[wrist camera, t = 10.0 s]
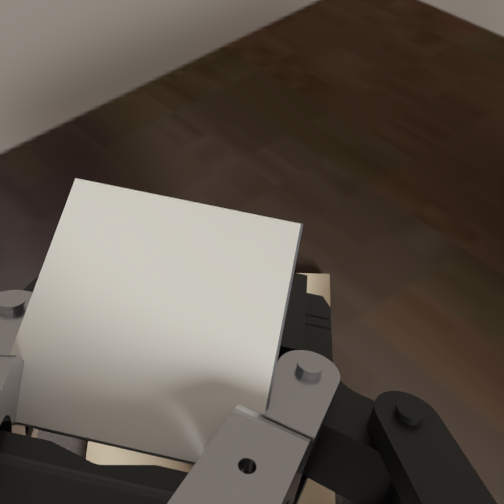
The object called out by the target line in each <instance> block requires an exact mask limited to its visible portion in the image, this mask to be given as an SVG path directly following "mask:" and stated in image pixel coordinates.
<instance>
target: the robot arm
mask: <svg viewBox="0 0 504 504" xmlns="http://www.w3.org/2000/svg"><path fill="white" fill-rule="evenodd" d="M38 277H39V276H38ZM38 277H37V278H36V279H35V280H34V281H32V282H31V283H30V284H29V285H28V286H27V287H26V288H25V289H23V290H8V291H2V292H0V504H298V502H299V500H300V497H301V495H302V492H303V490H304V488H305V485H306V483H307V480H308V478H309V479H311V480H313V481H315V482H316V483H318V484H320V485H322V486H324V487H326V488H327V489H329V490H331V491H333V492H335V493H337V494H339V495H340V496H341V497H342V504H497V503H496V501H495V500H494V498H493V497H492V495H491V494H490V492H489V491H488V489H487V488H486V486H485V485H484V483H483V482H482V480H481V479H480V477H479V476H478V474H477V473H476V471H475V470H474V468H473V467H472V465H471V464H470V462H469V460H468V459H467V457H466V456H465V454H464V453H463V451H462V450H461V448H460V447H459V445H458V444H457V442H456V441H455V439H454V438H453V436H452V435H451V433H450V432H449V430H448V429H447V427H446V426H445V424H444V423H443V421H442V420H441V418H440V417H439V415H438V414H437V412H436V411H435V410H434V409H433V408H432V407H431V406H430V405H429V404H427V403H426V402H424V401H423V400H421V399H420V398H418V397H416V396H413V395H411V394H408V393H405V392H400V391H388V392H384V393H382V394H380V395H379V396H378V397H377V398H376V400H375V401H373V400H371V399H369V398H367V397H364V396H362V395H360V394H358V393H356V392H354V391H353V390H351V389H349V388H348V387H347V386H346V385H344V384H343V383H342V382H341V381H340V373H339V371H338V369H337V367H336V366H335V365H334V364H333V359H332V333H331V308H330V306H329V305H328V303H327V302H326V300H325V299H324V297H323V296H320V295H315V294H311V293H307V275H304V274H299V273H294V275H293V281H292V286H291V291H290V297H289V302H288V307H287V313H286V318H285V323H284V328H283V334H282V339H281V344H280V350H279V355H278V360H277V366H276V371H275V376H274V382H273V387H272V392H271V397H270V403H269V408H268V410H267V409H265V415H264V414H262V413H260V412H258V411H256V410H253V409H251V408H249V407H247V406H245V405H243V404H239V405H237V406H236V407H235V409H234V410H233V411H232V413H231V414H230V415H229V417H228V418H227V420H226V421H225V422H224V424H223V425H222V427H221V428H220V429H219V431H218V432H217V434H216V435H215V437H214V438H213V439H212V441H211V442H210V444H209V445H208V446H207V448H206V449H205V451H204V452H203V453H202V455H201V456H200V458H199V459H198V460H197V462H196V463H195V465H194V466H193V468H192V469H191V470H190V472H184V471H180V470H176V469H171V468H167V467H162V466H158V465H98V464H95V463H92V462H90V461H88V460H86V459H84V458H82V457H81V456H79V455H77V454H75V453H73V452H71V451H69V450H67V449H65V448H63V447H61V446H59V445H57V444H55V443H53V442H51V441H48V440H43V439H39V438H37V434H38V431H39V430H38V429H33V428H29V427H25V426H20V425H16V423H17V422H15V420H16V413H17V406H18V399H19V392H20V385H21V379H22V372H23V365H24V360H22V359H21V357H20V355H10V352H11V349H12V347H13V344H14V341H15V339H16V336H17V333H18V331H19V328H20V325H21V323H22V320H23V317H24V315H25V312H26V309H27V307H28V304H29V301H30V298H31V296H32V293H33V290H34V288H35V285H36V282H37V280H38Z"/></svg>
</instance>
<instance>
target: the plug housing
mask: <svg viewBox="0 0 504 504" xmlns="http://www.w3.org/2000/svg"><path fill="white" fill-rule="evenodd" d="M302 228H303V224H300V223H296V222H291V221H286V220H281V219H276V218H271V217H266V216H261V215H256V214H251V213H246V212H241V211H236V210H232V209H227V208H222V207H217V206H212V205H207V204H202V203H197V202H192V201H187V200H182V199H177V198H172V197H167V196H163V195H158V194H153V193H148V192H143V191H138V190H133V189H128V188H123V187H118V186H113V185H108V184H103V183H98V182H94V181H89V180H84V179H79V178H75V180H74V183H73V186H72V188H71V191H70V194H69V197H68V199H67V202H66V205H65V207H64V210H63V213H62V215H61V218H60V221H59V223H58V226H57V229H56V231H55V234H54V237H53V239H52V242H51V245H50V247H49V250H48V253H47V256H46V258H45V261H44V264H43V266H42V269H41V272H40V274H39V277H38V280H37V282H36V285H35V288H34V290H33V293H32V296H31V298H30V301H29V304H28V307H27V309H26V312H25V315H24V317H23V320H22V323H21V325H20V328H19V331H18V333H17V336H16V339H15V341H14V344H13V347H12V349H11V352H10V355H20V357H21V359H22V360H24V365H23V372H22V379H21V385H20V392H19V399H18V406H17V413H16V420H15V422H17V423H16V425H20V426H25V427H29V428H33V429H38V430H42V431H47V432H51V433H55V434H60V435H64V436H69V437H73V438H77V439H82V440H86V441H91V442H95V443H99V444H104V445H108V446H113V447H117V448H121V449H126V450H130V451H135V452H139V453H143V454H148V455H152V456H157V457H161V458H165V459H170V460H174V461H179V462H183V463H187V464H192V465H195V463H196V462H197V460H198V459H199V458H200V456H201V455H202V453H203V452H204V451H205V449H206V448H207V446H208V445H209V444H210V442H211V441H212V439H213V438H214V437H215V435H216V434H217V432H218V431H219V429H220V428H221V427H222V425H223V424H224V422H225V421H226V420H227V418H228V417H229V415H230V414H231V413H232V411H233V410H234V409H235V407H236V406H237V405H239V404H243V405H245V406H247V407H249V408H251V409H253V410H256V411H258V412H260V413H262V414H264V415H265V409H267V410H268V408H269V403H270V397H271V392H272V387H273V382H274V376H275V371H276V366H277V360H278V355H279V350H280V344H281V339H282V334H283V328H284V323H285V318H286V313H287V307H288V302H289V297H290V291H291V286H292V281H293V275H294V270H295V265H296V259H297V254H298V249H299V244H300V238H301V233H302Z"/></svg>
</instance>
